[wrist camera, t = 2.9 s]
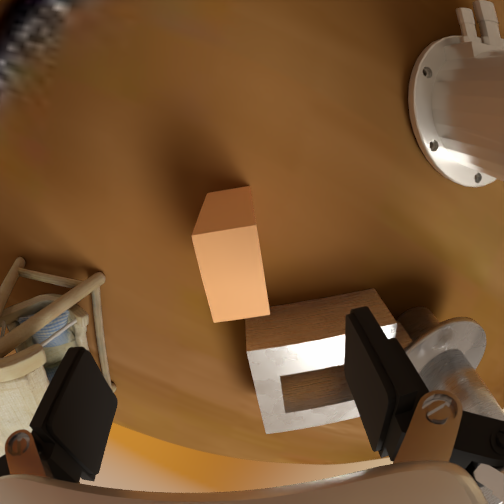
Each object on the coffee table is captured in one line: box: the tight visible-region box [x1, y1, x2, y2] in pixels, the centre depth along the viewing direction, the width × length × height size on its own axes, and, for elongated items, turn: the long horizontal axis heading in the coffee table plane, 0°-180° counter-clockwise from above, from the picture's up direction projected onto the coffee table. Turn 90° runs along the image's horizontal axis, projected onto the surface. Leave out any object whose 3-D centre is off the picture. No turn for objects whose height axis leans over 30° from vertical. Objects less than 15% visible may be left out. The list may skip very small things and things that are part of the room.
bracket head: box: [245, 288, 504, 504], centre depth 19 cm, size 11×20×20 cm, turn 99°
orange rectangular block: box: [191, 186, 270, 323], centre depth 19 cm, size 3×5×8 cm, turn 9°
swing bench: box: [0, 257, 116, 457], centre depth 20 cm, size 15×10×15 cm, turn 170°
